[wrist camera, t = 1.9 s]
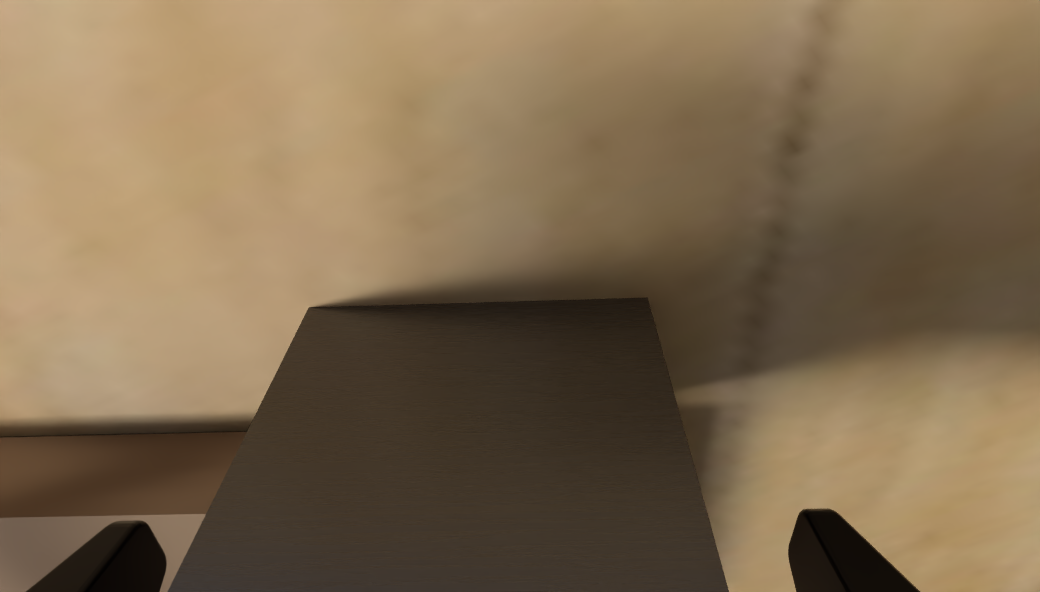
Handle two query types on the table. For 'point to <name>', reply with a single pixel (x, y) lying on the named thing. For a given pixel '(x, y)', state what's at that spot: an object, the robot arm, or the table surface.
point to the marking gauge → (463, 459)
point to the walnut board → (103, 494)
